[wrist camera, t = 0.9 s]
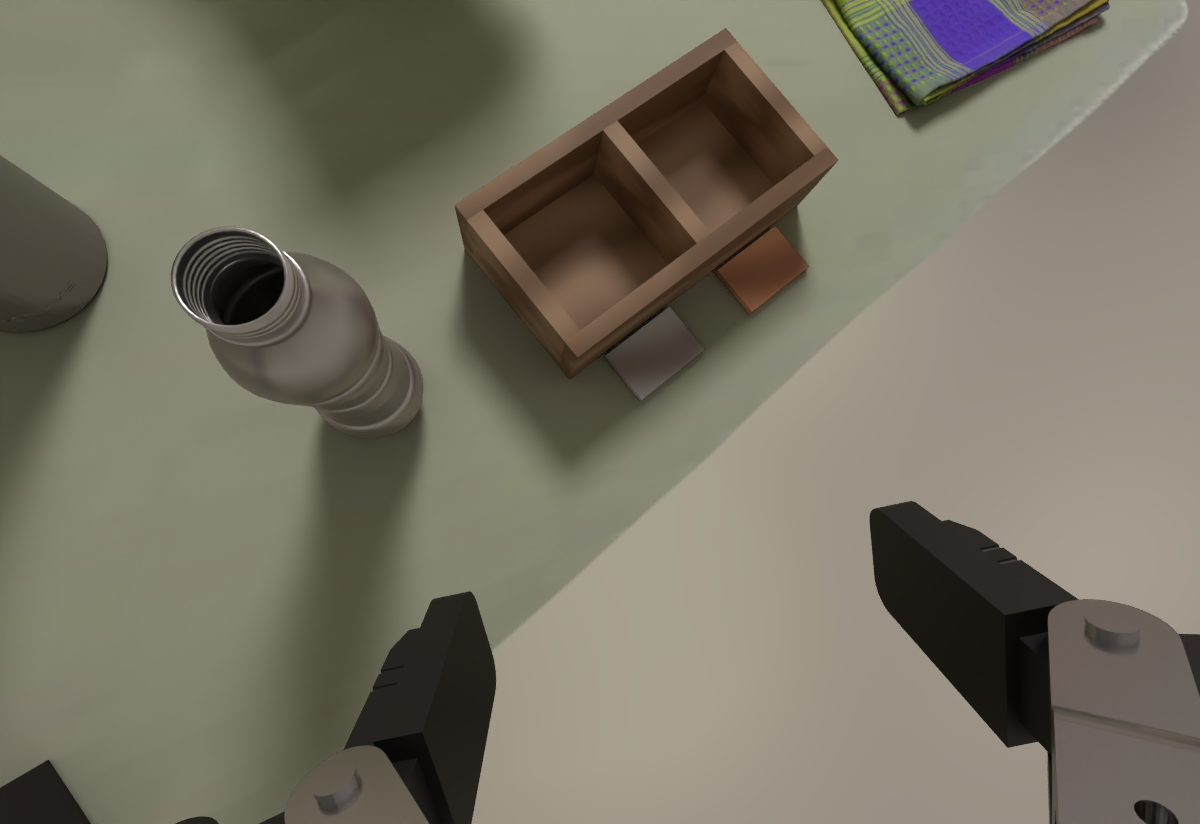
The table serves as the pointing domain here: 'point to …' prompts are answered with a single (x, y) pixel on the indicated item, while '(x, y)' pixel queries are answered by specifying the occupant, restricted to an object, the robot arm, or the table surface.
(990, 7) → the dish towel
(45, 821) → the black coffee bag
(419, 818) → the robot arm
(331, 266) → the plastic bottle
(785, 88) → the table surface
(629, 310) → the box
